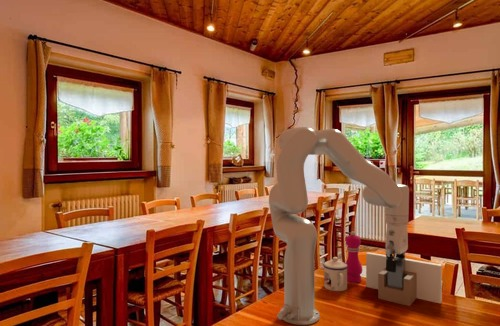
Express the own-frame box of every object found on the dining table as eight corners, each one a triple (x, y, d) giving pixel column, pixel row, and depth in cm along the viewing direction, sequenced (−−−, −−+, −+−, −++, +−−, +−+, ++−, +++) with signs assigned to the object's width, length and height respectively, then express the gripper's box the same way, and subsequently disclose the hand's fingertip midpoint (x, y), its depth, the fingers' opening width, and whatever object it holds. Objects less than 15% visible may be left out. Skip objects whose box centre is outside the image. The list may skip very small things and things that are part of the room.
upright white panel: (434, 312, 118) (434, 272, 118) (357, 293, 135) (357, 258, 134) (441, 301, 127) (441, 264, 126) (368, 285, 143) (368, 252, 143)
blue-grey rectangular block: (402, 289, 126) (402, 260, 126) (387, 286, 129) (387, 258, 129) (405, 286, 129) (405, 258, 129) (390, 283, 132) (390, 256, 132)
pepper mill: (363, 283, 145) (363, 233, 144) (344, 282, 146) (344, 232, 145) (361, 277, 152) (361, 229, 151) (343, 276, 153) (343, 229, 153)
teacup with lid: (320, 283, 145) (320, 254, 144) (342, 282, 146) (342, 253, 145) (330, 295, 133) (330, 263, 133) (354, 294, 134) (354, 262, 134)
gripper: (399, 224, 119) (398, 276, 119) (415, 218, 132) (413, 265, 132) (376, 221, 124) (375, 271, 124) (394, 215, 137) (392, 261, 137)
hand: (395, 268), depth 128 cm, fingers open, 9 cm apart
